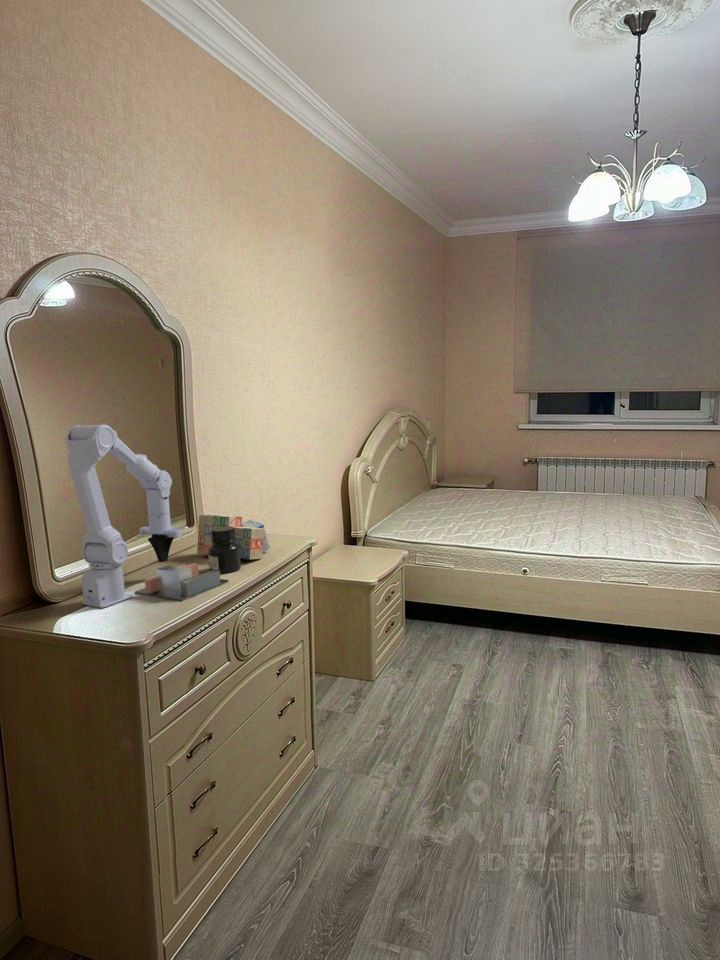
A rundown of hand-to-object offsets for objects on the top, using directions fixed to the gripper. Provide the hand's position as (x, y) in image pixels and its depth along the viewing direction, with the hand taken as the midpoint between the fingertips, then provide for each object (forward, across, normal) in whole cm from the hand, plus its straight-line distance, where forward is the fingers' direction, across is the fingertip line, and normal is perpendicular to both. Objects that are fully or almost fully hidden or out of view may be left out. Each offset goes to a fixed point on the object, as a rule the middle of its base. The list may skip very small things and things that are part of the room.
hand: (163, 561), depth 186 cm
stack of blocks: (+4, -3, -23) cm, 24 cm away
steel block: (+4, -14, +10) cm, 18 cm away
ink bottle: (+5, -11, -13) cm, 18 cm away
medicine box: (+3, -6, -33) cm, 34 cm away
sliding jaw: (+4, -9, +5) cm, 11 cm away
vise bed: (+5, -12, +5) cm, 14 cm away
